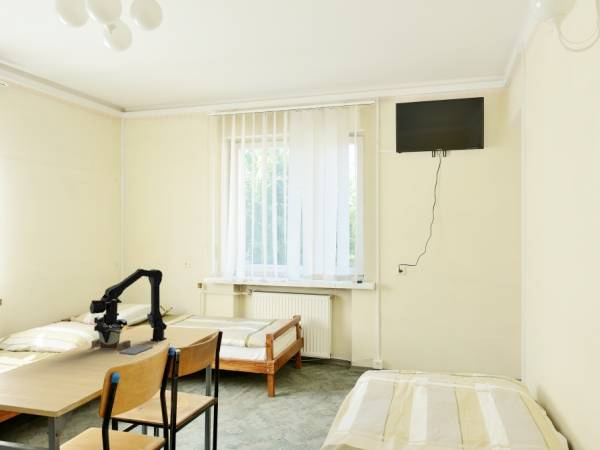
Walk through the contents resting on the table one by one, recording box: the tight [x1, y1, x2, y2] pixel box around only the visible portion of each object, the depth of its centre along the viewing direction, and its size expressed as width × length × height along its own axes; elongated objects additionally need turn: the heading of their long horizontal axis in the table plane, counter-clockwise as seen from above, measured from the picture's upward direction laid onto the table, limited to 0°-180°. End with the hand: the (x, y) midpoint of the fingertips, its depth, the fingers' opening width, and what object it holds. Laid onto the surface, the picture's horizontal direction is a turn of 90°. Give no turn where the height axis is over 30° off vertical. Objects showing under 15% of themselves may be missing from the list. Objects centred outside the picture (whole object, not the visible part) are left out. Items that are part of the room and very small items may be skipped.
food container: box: [97, 327, 123, 350], centre depth 239 cm, size 12×6×10 cm, turn 83°
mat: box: [119, 344, 154, 356], centre depth 234 cm, size 15×9×1 cm, turn 162°
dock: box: [91, 338, 132, 352], centre depth 239 cm, size 8×18×4 cm, turn 72°
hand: (110, 341), depth 239 cm, fingers closed on food container, 6 cm apart
